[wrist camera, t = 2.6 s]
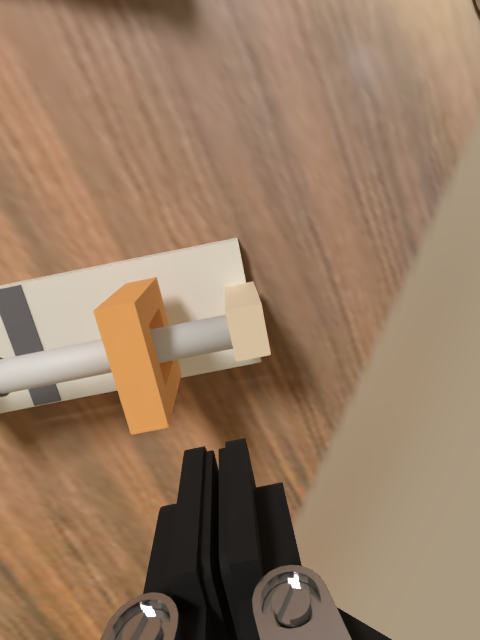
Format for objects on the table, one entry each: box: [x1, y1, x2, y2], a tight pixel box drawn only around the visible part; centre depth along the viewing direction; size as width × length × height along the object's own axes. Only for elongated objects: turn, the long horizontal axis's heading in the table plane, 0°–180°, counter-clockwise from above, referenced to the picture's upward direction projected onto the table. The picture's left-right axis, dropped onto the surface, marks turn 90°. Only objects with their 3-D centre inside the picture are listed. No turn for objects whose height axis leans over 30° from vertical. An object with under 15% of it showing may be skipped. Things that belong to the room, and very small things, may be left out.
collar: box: [93, 277, 182, 435], centre depth 24 cm, size 2×7×7 cm, turn 11°
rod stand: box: [0, 238, 271, 413], centre depth 27 cm, size 23×9×8 cm, turn 101°
